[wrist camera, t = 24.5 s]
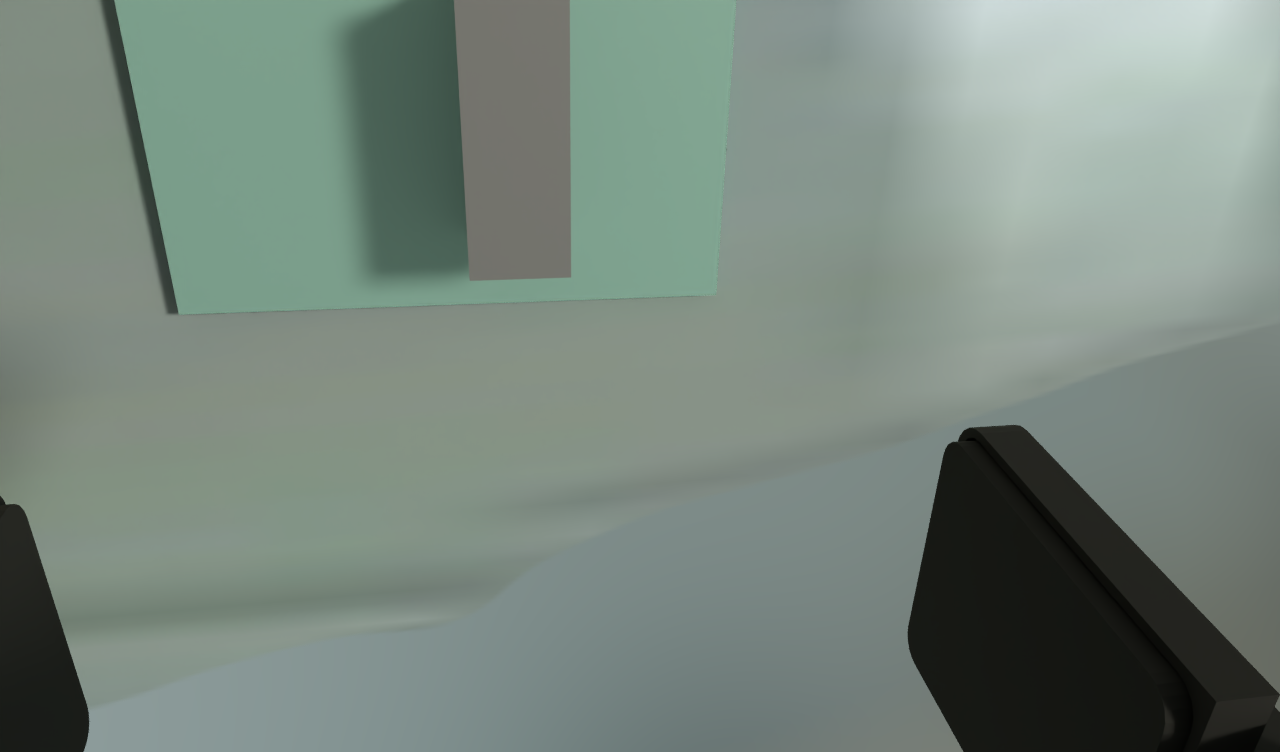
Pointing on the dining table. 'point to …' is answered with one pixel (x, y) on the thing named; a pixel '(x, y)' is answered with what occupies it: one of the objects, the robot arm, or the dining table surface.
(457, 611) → the dining table surface
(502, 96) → the lid
